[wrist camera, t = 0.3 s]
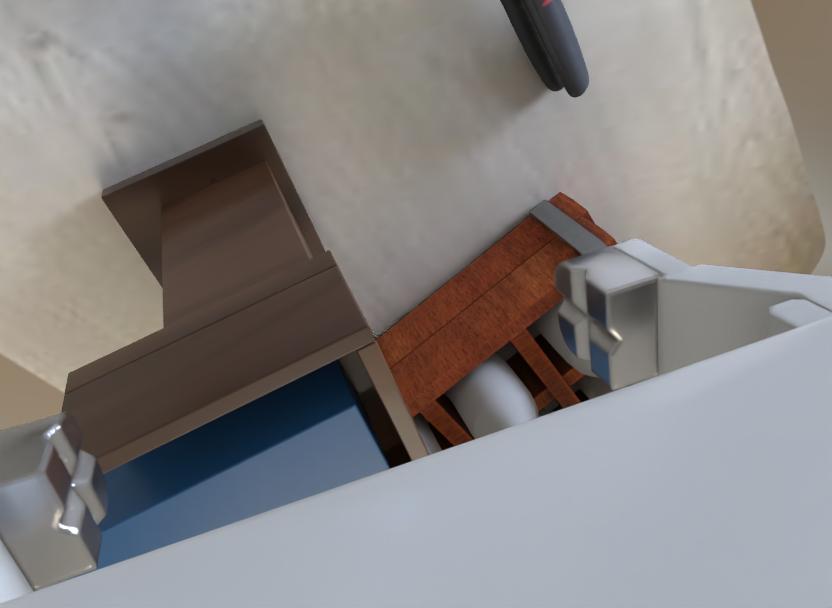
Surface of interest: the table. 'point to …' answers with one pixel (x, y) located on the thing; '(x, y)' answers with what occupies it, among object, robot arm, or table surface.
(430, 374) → the milk bottle holder
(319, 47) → the table surface
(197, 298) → the wooden pedestal stand
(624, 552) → the robot arm
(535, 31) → the can opener
